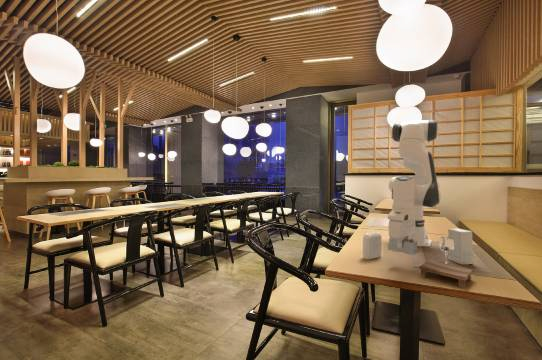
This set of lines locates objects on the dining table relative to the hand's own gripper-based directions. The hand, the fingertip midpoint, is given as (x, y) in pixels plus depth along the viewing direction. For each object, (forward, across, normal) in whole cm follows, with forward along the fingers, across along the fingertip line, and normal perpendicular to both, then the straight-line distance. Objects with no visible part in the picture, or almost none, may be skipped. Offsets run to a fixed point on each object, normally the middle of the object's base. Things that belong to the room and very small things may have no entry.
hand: (402, 246), depth 115 cm
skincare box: (+9, -28, +15) cm, 33 cm away
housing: (+2, 0, 0) cm, 2 cm away
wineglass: (+9, -18, +12) cm, 23 cm away
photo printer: (+9, -3, -15) cm, 18 cm away
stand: (+9, 0, +16) cm, 18 cm away
